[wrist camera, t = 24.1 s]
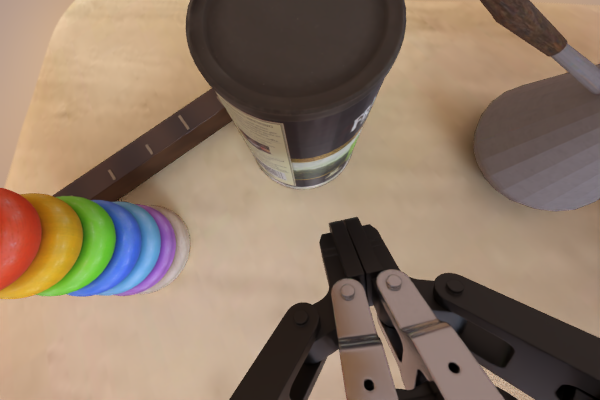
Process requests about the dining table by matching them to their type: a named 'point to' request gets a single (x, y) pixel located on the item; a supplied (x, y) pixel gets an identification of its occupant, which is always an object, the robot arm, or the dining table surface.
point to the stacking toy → (87, 246)
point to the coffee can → (297, 75)
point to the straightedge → (151, 151)
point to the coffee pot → (543, 123)
